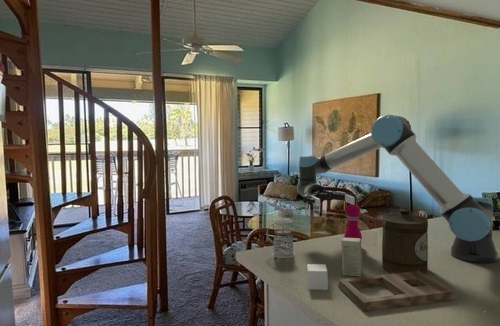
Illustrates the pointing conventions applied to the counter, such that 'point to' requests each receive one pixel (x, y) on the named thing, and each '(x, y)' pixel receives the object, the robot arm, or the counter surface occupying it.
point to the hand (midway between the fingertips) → (336, 201)
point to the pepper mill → (352, 222)
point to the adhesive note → (317, 276)
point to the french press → (282, 238)
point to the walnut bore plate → (397, 290)
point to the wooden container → (405, 242)
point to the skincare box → (351, 256)
